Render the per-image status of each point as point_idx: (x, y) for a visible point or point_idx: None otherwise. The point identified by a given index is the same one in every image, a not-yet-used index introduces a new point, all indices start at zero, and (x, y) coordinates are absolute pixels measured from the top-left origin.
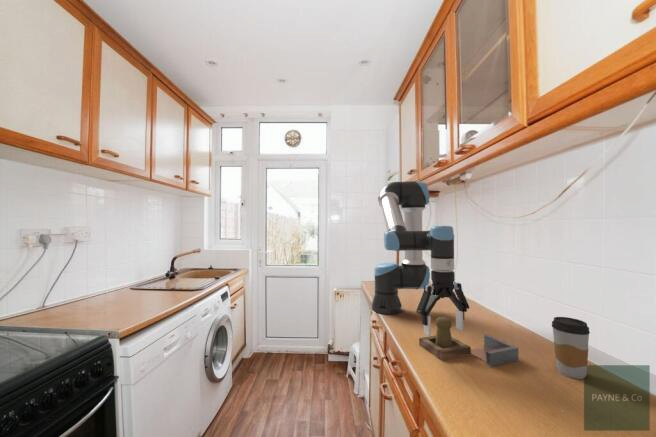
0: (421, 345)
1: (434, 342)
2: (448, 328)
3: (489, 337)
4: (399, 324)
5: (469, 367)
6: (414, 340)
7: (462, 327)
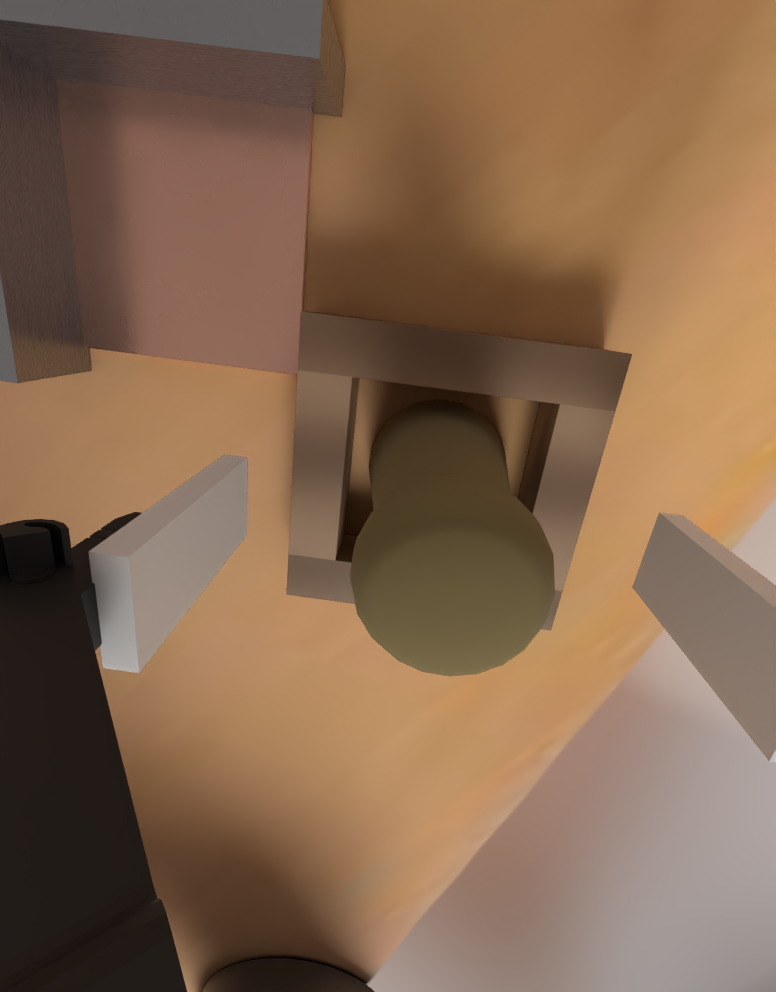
0: None
1: None
2: (463, 476)
3: (8, 314)
4: (391, 854)
5: (514, 152)
6: None
7: (221, 468)
